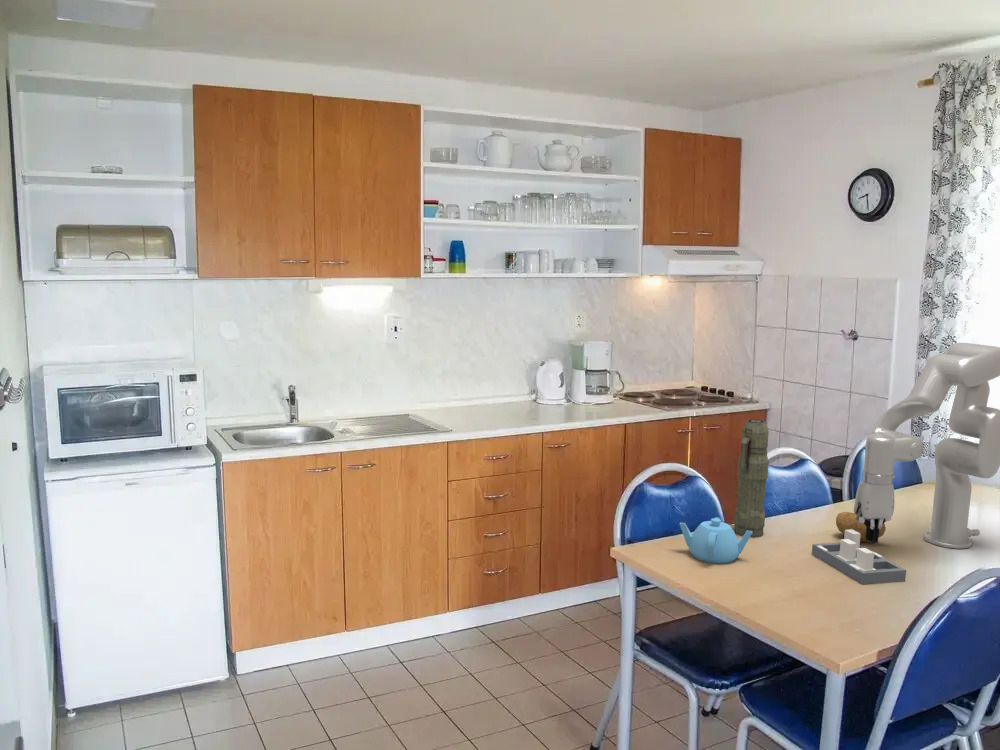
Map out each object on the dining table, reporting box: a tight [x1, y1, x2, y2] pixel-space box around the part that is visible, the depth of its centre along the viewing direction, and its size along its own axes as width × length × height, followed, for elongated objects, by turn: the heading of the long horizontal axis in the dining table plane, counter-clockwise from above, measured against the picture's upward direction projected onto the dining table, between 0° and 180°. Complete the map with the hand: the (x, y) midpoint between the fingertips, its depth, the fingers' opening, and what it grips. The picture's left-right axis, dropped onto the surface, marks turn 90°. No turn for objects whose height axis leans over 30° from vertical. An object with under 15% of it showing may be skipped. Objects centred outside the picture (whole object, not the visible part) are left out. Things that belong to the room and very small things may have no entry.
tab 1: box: [843, 529, 861, 550], centre depth 230 cm, size 4×4×6 cm
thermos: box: [733, 418, 770, 538], centre depth 247 cm, size 9×12×35 cm
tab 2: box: [836, 538, 857, 561], centre depth 222 cm, size 4×4×6 cm
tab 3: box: [853, 547, 876, 571], centre depth 215 cm, size 4×4×6 cm
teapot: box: [679, 516, 752, 564], centre depth 229 cm, size 15×15×11 cm
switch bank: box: [811, 541, 907, 585], centre depth 223 cm, size 13×22×3 cm, turn 13°
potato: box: [835, 511, 886, 543], centre depth 245 cm, size 10×14×8 cm
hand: (871, 541), depth 232 cm, fingers closed
